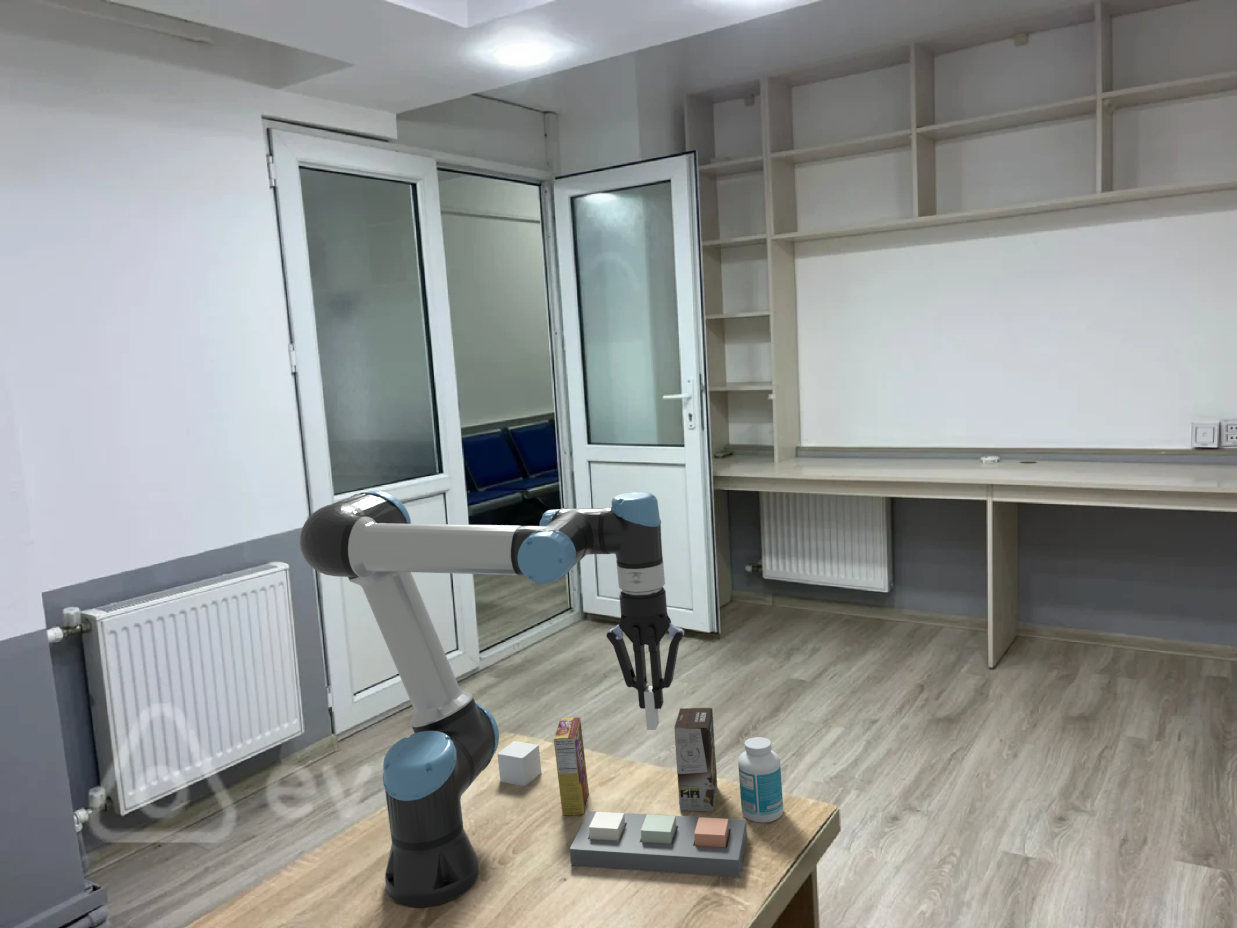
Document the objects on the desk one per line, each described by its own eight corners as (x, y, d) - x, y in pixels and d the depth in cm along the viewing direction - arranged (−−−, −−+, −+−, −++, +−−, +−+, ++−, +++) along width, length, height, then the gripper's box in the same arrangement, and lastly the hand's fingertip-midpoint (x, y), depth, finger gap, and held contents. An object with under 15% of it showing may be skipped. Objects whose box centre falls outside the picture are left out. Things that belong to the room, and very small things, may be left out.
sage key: (642, 848, 153) (640, 830, 153) (648, 832, 158) (646, 814, 158) (671, 850, 152) (670, 831, 152) (676, 833, 157) (675, 815, 157)
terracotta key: (695, 851, 151) (694, 833, 151) (700, 835, 156) (698, 817, 156) (725, 853, 150) (724, 835, 150) (729, 836, 155) (728, 818, 154)
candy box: (566, 791, 178) (560, 717, 175) (589, 791, 177) (582, 716, 175) (560, 816, 169) (553, 738, 167) (583, 815, 168) (576, 737, 166)
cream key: (590, 845, 156) (588, 827, 155) (597, 828, 160) (596, 811, 160) (618, 846, 154) (617, 828, 154) (625, 830, 159) (624, 813, 159)
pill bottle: (785, 804, 167) (781, 734, 165) (781, 826, 160) (777, 753, 158) (744, 801, 169) (740, 732, 167) (738, 822, 162) (734, 751, 160)
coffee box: (714, 812, 166) (708, 728, 164) (678, 810, 168) (672, 727, 165) (718, 786, 175) (713, 706, 173) (685, 785, 176) (679, 706, 174)
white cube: (525, 786, 181) (522, 758, 180) (500, 781, 184) (497, 753, 183) (541, 772, 186) (538, 744, 185) (516, 768, 189) (514, 740, 188)
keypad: (571, 865, 153) (569, 848, 153) (590, 826, 165) (588, 810, 164) (739, 877, 146) (738, 859, 146) (746, 835, 158) (745, 819, 157)
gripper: (597, 595, 147) (609, 735, 150) (677, 595, 143) (688, 737, 147) (608, 582, 154) (620, 715, 157) (685, 581, 151) (695, 717, 154)
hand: (653, 725), depth 152 cm, fingers closed
